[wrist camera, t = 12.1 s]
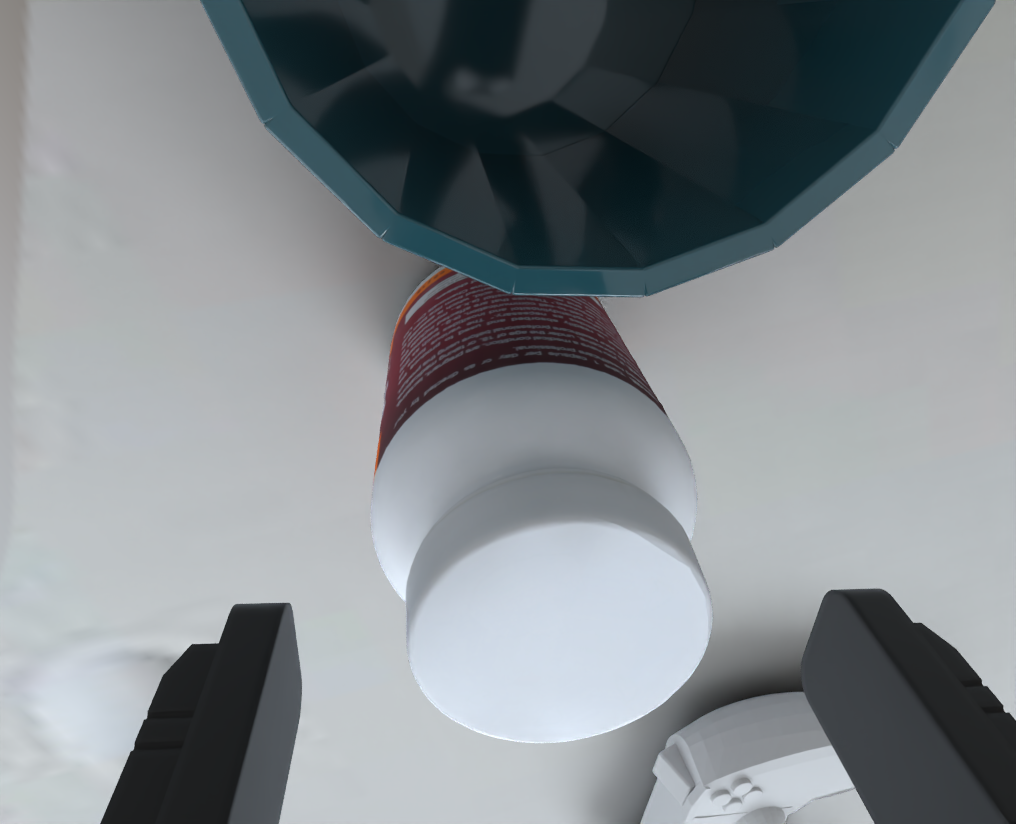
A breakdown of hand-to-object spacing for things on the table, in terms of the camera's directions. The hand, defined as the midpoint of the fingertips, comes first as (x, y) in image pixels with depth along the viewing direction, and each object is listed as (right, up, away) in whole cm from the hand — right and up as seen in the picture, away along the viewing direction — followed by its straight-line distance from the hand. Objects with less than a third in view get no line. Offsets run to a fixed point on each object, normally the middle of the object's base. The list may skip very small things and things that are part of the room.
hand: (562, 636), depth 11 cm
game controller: (+9, -13, +21) cm, 26 cm away
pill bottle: (-1, +5, +10) cm, 11 cm away
